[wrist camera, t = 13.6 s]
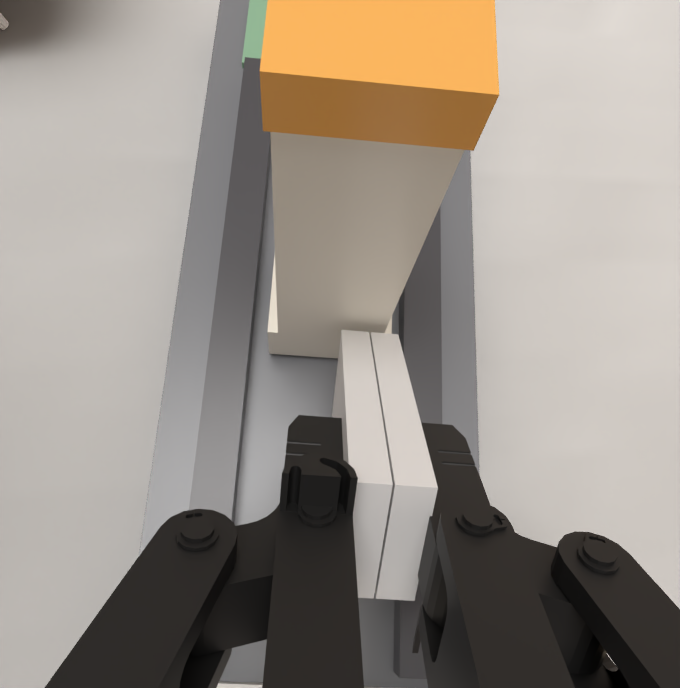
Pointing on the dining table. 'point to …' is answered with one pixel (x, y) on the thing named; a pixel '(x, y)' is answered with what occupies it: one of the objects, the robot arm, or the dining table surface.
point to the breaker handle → (364, 150)
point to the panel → (287, 370)
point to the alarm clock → (3, 22)
